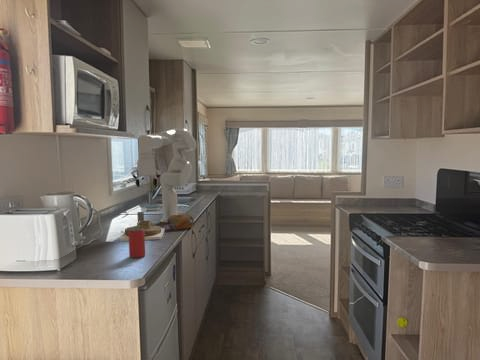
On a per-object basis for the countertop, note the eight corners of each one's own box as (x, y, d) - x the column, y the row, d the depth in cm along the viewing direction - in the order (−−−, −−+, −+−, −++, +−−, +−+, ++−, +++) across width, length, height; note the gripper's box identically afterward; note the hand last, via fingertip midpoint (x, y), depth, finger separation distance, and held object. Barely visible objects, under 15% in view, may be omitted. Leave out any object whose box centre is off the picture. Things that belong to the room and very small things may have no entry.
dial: (128, 229, 201) (128, 221, 200) (163, 227, 203) (162, 220, 202) (121, 237, 182) (120, 228, 181) (159, 235, 184) (158, 226, 183)
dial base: (127, 232, 202) (127, 229, 201) (165, 230, 204) (165, 227, 204) (118, 241, 181) (118, 237, 181) (160, 239, 183) (160, 236, 183)
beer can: (146, 254, 156) (145, 227, 155) (143, 258, 150) (142, 230, 149) (131, 254, 156) (130, 227, 155) (127, 258, 150) (126, 230, 149)
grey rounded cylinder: (138, 228, 210) (137, 211, 210) (144, 228, 211) (144, 211, 210) (137, 229, 207) (136, 212, 206) (143, 229, 207) (143, 212, 206)
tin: (167, 230, 206) (167, 215, 205) (167, 228, 209) (166, 214, 208) (193, 228, 210) (193, 213, 209) (193, 227, 213) (192, 213, 212)
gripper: (159, 156, 212) (159, 185, 213) (129, 156, 204) (129, 186, 205) (162, 156, 206) (163, 186, 207) (132, 156, 198) (132, 187, 198)
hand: (146, 186), depth 206 cm, fingers open, 9 cm apart
